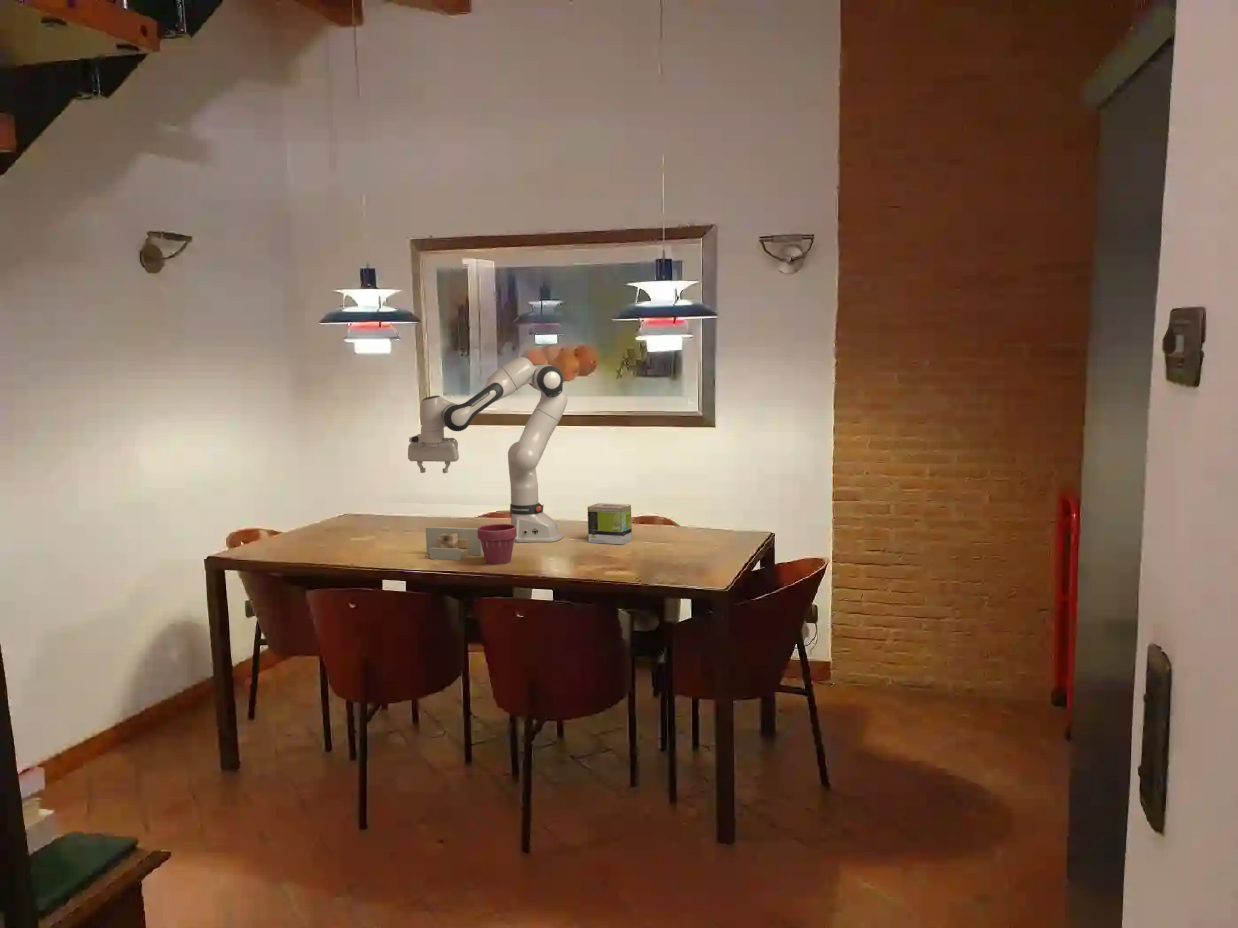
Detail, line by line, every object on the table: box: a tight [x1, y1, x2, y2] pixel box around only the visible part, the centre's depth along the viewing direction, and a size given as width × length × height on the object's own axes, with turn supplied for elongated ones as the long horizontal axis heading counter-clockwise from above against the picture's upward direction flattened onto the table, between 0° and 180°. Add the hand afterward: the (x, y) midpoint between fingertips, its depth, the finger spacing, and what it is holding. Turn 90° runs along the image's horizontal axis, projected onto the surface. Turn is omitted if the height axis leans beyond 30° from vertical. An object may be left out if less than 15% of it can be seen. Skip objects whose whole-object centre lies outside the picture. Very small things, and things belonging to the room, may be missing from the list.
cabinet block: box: [440, 533, 458, 549], centre depth 347 cm, size 5×5×6 cm
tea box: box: [587, 502, 633, 545], centre depth 369 cm, size 15×10×15 cm
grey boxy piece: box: [425, 526, 484, 561], centre depth 348 cm, size 22×10×10 cm, turn 77°
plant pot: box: [477, 523, 517, 565], centre depth 338 cm, size 14×14×13 cm
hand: (434, 472), depth 364 cm, fingers open, 8 cm apart
